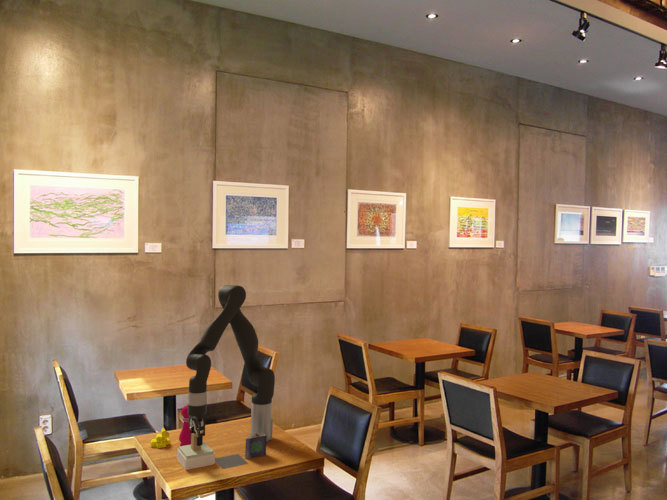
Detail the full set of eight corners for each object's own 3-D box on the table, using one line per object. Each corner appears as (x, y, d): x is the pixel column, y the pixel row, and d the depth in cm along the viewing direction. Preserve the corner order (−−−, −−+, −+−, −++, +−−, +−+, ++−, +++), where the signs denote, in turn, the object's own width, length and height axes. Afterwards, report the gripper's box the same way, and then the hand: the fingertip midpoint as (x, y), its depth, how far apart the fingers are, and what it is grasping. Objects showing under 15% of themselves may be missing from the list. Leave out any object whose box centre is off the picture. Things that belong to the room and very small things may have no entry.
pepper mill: (191, 451, 220) (192, 405, 220) (175, 449, 221) (176, 403, 221) (198, 445, 227) (200, 400, 227) (183, 443, 228) (185, 398, 228)
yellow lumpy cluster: (150, 444, 227) (150, 426, 227) (168, 441, 230) (169, 424, 230) (151, 449, 222) (152, 431, 222) (170, 446, 225) (171, 428, 225)
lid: (204, 444, 217) (205, 427, 217) (213, 453, 208) (214, 436, 208) (178, 449, 211) (179, 432, 211) (186, 458, 202) (187, 441, 202)
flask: (246, 460, 213) (247, 434, 213) (243, 457, 216) (244, 432, 216) (266, 456, 218) (267, 431, 218) (264, 453, 220) (264, 428, 220)
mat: (238, 454, 218) (238, 453, 218) (248, 464, 209) (248, 463, 209) (213, 459, 212) (213, 458, 212) (222, 470, 203) (222, 469, 203)
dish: (205, 454, 218) (205, 443, 218) (214, 464, 208) (215, 453, 208) (176, 459, 211) (177, 448, 211) (185, 471, 201) (185, 459, 201)
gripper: (212, 405, 205) (210, 446, 205) (200, 396, 217) (199, 434, 217) (193, 408, 201) (192, 449, 201) (183, 398, 213) (181, 437, 213)
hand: (196, 441), depth 209 cm, fingers open, 8 cm apart
